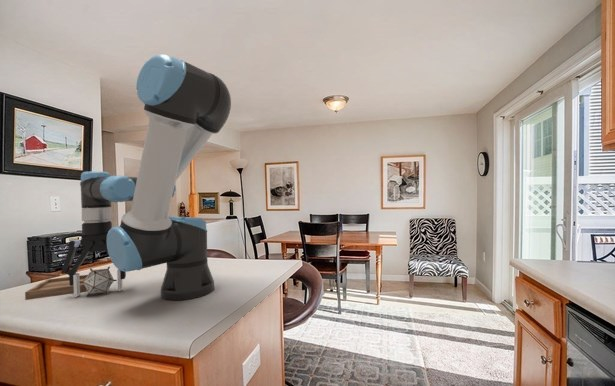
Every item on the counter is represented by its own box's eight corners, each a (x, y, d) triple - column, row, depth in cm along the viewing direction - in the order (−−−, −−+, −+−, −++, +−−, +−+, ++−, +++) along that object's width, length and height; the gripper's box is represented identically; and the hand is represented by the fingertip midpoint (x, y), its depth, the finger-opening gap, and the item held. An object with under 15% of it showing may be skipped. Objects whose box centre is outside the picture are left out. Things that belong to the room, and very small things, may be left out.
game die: (100, 307, 88) (91, 287, 82) (78, 296, 89) (68, 276, 84) (125, 285, 95) (118, 265, 89) (104, 275, 96) (97, 255, 91)
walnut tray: (86, 291, 92) (86, 284, 92) (25, 299, 86) (25, 292, 86) (99, 279, 106) (98, 273, 106) (47, 285, 100) (46, 279, 100)
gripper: (141, 218, 97) (142, 283, 97) (55, 223, 88) (57, 295, 88) (137, 219, 90) (139, 290, 90) (44, 225, 81) (46, 303, 81)
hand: (99, 292), depth 89 cm, fingers open, 10 cm apart
